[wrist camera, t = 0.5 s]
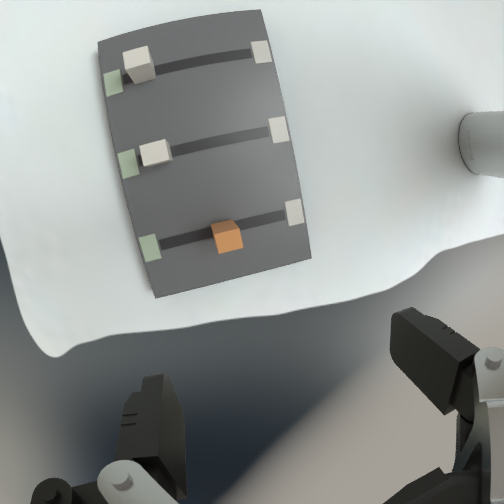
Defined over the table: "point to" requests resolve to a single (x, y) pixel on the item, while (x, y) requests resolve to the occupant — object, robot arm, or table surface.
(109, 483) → the robot arm
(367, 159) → the table surface
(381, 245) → the table surface
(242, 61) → the panel
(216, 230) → the block
